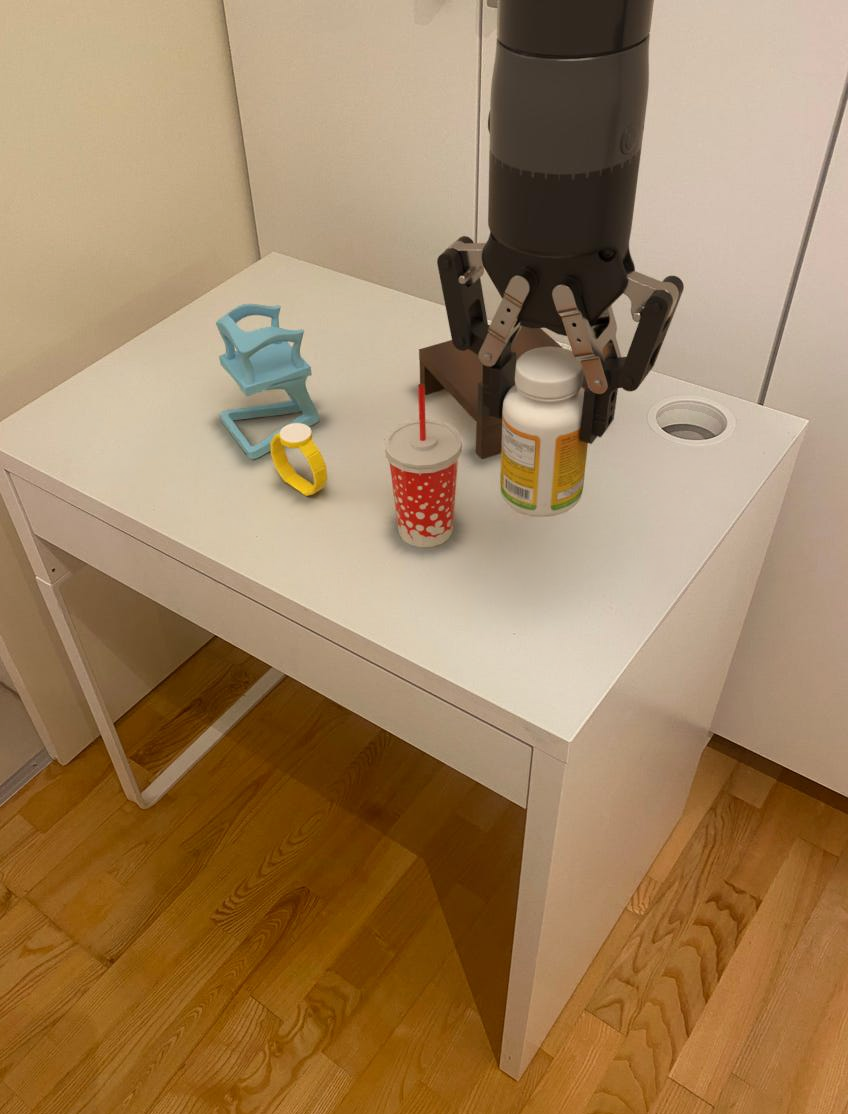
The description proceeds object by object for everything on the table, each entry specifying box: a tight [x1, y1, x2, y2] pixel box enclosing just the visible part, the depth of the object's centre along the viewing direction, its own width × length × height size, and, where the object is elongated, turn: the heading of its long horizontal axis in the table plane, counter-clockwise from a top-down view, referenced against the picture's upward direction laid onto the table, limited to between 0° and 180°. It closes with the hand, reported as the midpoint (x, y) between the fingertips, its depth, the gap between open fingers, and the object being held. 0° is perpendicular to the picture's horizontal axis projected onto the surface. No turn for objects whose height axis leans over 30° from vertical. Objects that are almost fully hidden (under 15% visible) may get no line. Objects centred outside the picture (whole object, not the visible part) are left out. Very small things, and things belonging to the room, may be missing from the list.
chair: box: [215, 303, 320, 460], centre depth 91 cm, size 8×8×12 cm
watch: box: [270, 423, 328, 497], centre depth 86 cm, size 6×3×6 cm, turn 45°
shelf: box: [418, 326, 588, 460], centre depth 93 cm, size 12×13×8 cm
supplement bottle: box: [500, 347, 589, 518], centre depth 62 cm, size 5×5×10 cm
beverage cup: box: [383, 383, 463, 549], centre depth 78 cm, size 6×6×14 cm
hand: (545, 422), depth 61 cm, fingers closed on supplement bottle, 5 cm apart
